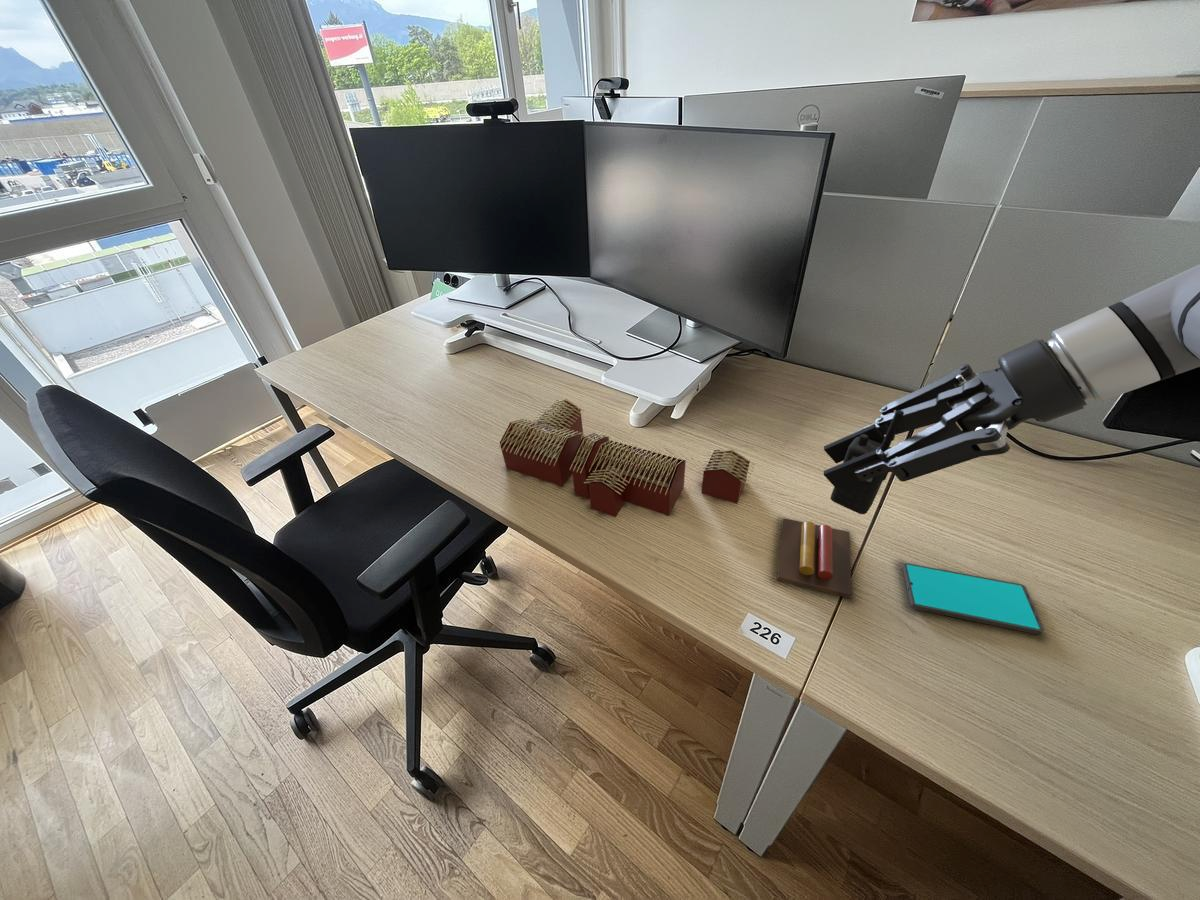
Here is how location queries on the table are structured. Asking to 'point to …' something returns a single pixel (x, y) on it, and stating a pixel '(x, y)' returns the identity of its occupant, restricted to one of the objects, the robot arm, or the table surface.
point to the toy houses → (611, 464)
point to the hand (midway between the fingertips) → (830, 466)
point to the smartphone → (971, 598)
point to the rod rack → (815, 557)
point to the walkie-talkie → (865, 492)
